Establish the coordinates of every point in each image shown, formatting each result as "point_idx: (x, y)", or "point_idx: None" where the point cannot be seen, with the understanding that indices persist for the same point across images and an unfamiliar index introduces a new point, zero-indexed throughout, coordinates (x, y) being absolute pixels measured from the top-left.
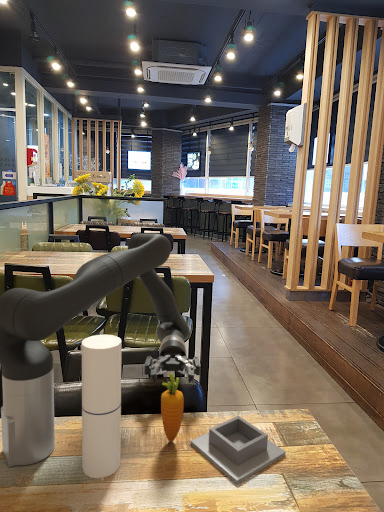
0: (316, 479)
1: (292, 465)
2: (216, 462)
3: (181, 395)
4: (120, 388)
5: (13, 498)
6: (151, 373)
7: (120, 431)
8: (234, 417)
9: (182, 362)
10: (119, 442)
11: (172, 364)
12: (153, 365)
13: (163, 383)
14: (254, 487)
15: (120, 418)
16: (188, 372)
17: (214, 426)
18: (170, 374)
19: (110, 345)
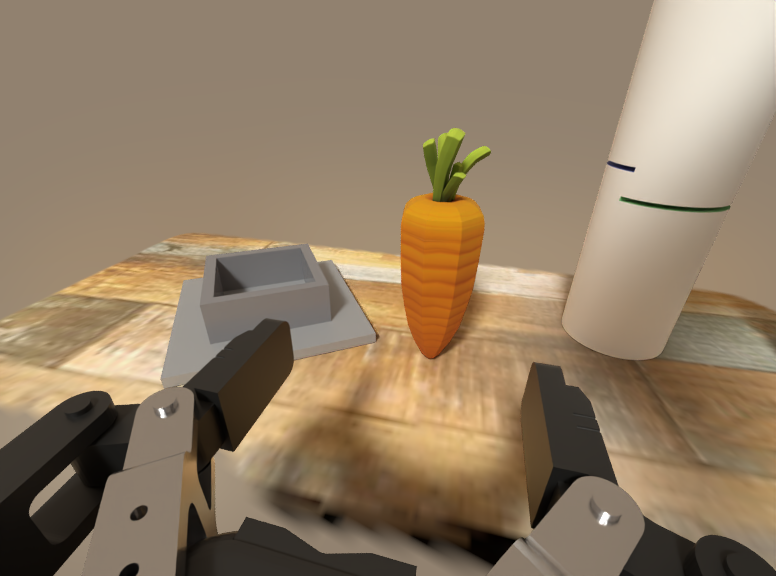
0: (199, 256)
1: (202, 274)
2: (345, 284)
3: (412, 198)
4: (624, 105)
5: (742, 302)
6: (584, 402)
7: (586, 253)
8: (220, 301)
9: (188, 502)
10: (577, 265)
11: (325, 564)
12: (614, 500)
13: (486, 148)
14: None
15: (596, 207)
16: (263, 349)
17: (309, 287)
18: (459, 132)
19: None
